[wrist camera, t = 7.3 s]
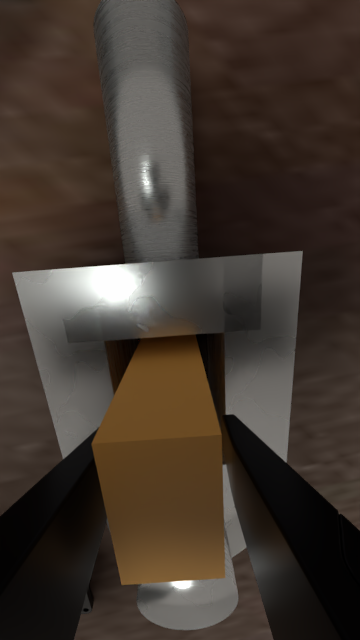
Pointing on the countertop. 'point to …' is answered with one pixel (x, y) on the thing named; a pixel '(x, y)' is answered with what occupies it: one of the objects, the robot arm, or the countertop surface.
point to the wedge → (163, 467)
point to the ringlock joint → (163, 284)
